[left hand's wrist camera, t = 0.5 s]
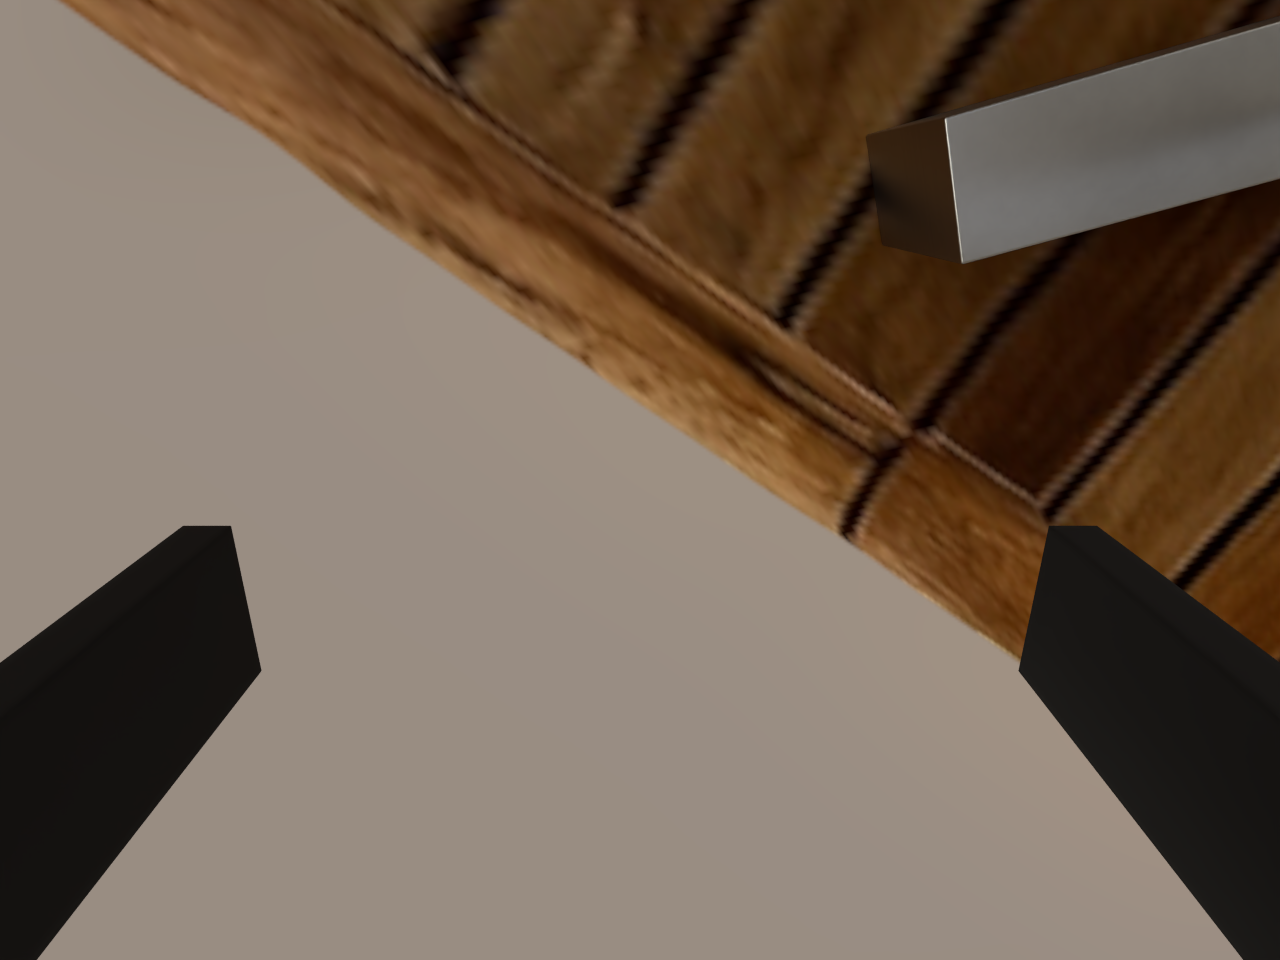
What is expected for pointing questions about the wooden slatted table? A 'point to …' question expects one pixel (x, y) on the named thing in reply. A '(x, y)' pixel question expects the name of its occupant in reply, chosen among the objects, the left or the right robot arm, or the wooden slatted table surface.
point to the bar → (1084, 149)
